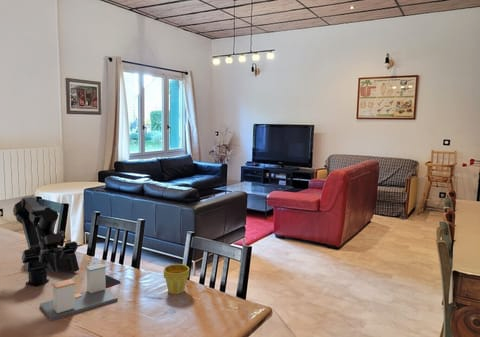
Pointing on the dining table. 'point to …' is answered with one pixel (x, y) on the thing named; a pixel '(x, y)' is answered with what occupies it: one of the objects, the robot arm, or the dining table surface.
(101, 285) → the grey rectangular block
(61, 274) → the dining table surface
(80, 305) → the grey flat board
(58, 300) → the white box tan lid
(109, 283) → the smartphone
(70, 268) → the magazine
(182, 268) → the plant pot
